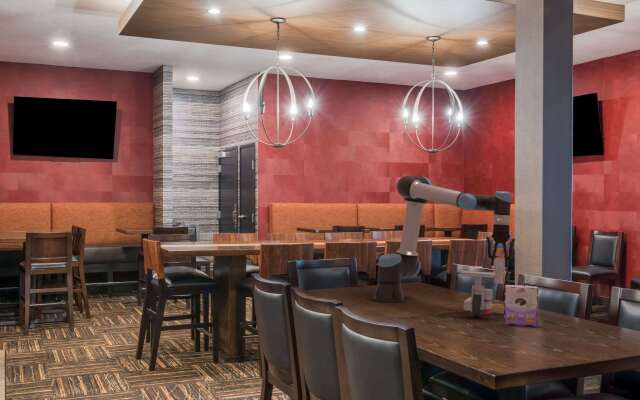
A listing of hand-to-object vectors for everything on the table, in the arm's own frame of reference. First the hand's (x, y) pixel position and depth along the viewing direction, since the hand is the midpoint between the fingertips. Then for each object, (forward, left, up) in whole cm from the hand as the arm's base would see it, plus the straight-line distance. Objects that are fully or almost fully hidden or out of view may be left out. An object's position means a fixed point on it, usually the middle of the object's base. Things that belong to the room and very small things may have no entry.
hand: (499, 273), depth 327 cm
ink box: (-6, -11, -18) cm, 22 cm away
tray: (-10, +2, -18) cm, 21 cm away
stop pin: (0, 0, -5) cm, 5 cm away
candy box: (+14, -32, -18) cm, 40 cm away
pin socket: (0, 0, -18) cm, 18 cm away
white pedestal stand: (-6, -22, -18) cm, 29 cm away
